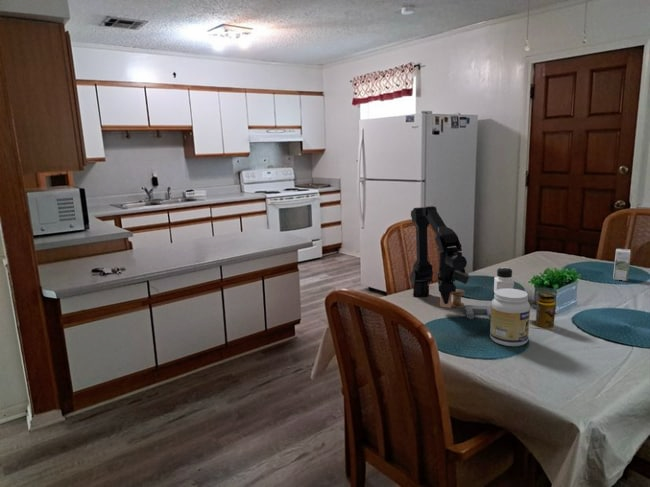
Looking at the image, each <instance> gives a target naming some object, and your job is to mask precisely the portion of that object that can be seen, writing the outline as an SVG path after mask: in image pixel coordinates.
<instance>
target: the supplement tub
mask: <svg viewBox="0 0 650 487" xmlns="http://www.w3.org/2000/svg"><path fill="white" fill-rule="evenodd" d="M528 295H529V294H528V293H527V292H526V291H525V290H521V289H518V288H514V289H510V288H504V289H498V290H496V291H495V293H494V295H493V298H492V300H491V305H490V306H491V320H490V329H489V330H490V331H489V336H490V339H491V340H492V341H493V342H495V343H497V344H498V345H501V346H507V347H520V346H523V345H525V344H527V343H528V340H529V330H530V328H529V327H530V324H529V320H530V312H531V303H530V302H529V301H528V300H529V296H528Z"/></svg>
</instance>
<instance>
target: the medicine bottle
mask: <svg viewBox="0 0 650 487" xmlns="http://www.w3.org/2000/svg"><path fill="white" fill-rule="evenodd" d="M496 272H497V274H496V276H494V278H493V279H494V281H493V282H494V283H493V292H494V294H495V291H496V290H498V289H504V288H510V289H515V281H514V280H513V269H511V268H510V267H500V268H497V271H496Z"/></svg>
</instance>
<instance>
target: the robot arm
mask: <svg viewBox="0 0 650 487" xmlns="http://www.w3.org/2000/svg"><path fill="white" fill-rule="evenodd" d="M437 210H438V209H437V207H436V206H434V205H433V206H432V205H431V206H421V207H413V209H412V210H411V211H410V217H411V222H412V224H413V226H415V238H416V239H415V240H416V243H415V245H416V248H415V249H416V261H415V262H414V264H413V266H412V271H411V273H410V275H409V282H410V283H412V284H413V286H412V287H413V288H412V290H413V291H412V297H418V298H420V297H422V298H425V297H426V298H427V297H429V294H430V283H432V281H433V277H434V276H433V275H434V271H433V265H432V264H431V263H430V261H429V254H428V251H429V250H428V248H429V246H428V228H429V225H430V227H431V228H432V229H433V231H434V234H435V237H434V238H435V242H436V245H437V247H438V248H437V251H438V254H439V255H438V256H439V258H438V273H437V280H438V281H437V284H438V291H439V294H440V297H441V296H442V298H443V301H444V303H445V304H448V300H449V297H450V293H451V292H456V289H457V286H456V283H455V282H456V281H457V282H460V283H462V284H464V285H467V283H468V281H469V278H470V274H469V273H468V272H466V269H465V268H466V267H467V262H468V261H467V258H466V257H465V256H464V255H463V252H462V251H463V248H462V247H463V246H462V244H461V242H460V238H459V237H458V235H457V233H456V232H455V231H454V230H453V229H451V228H450V227H448V226H447V225H446V224H445V222H444V220H443V218H442V217H441V216H440V214H439V212H438V211H437Z"/></svg>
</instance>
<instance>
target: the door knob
mask: <svg viewBox="0 0 650 487" xmlns="http://www.w3.org/2000/svg"><path fill="white" fill-rule="evenodd" d="M465 293H466V291H465V290H463V289H460V288H456V292H452V301H451V307H450V308H452V309H463V308H464V309H465V303H464V302H462V296H464V295H465Z"/></svg>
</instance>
